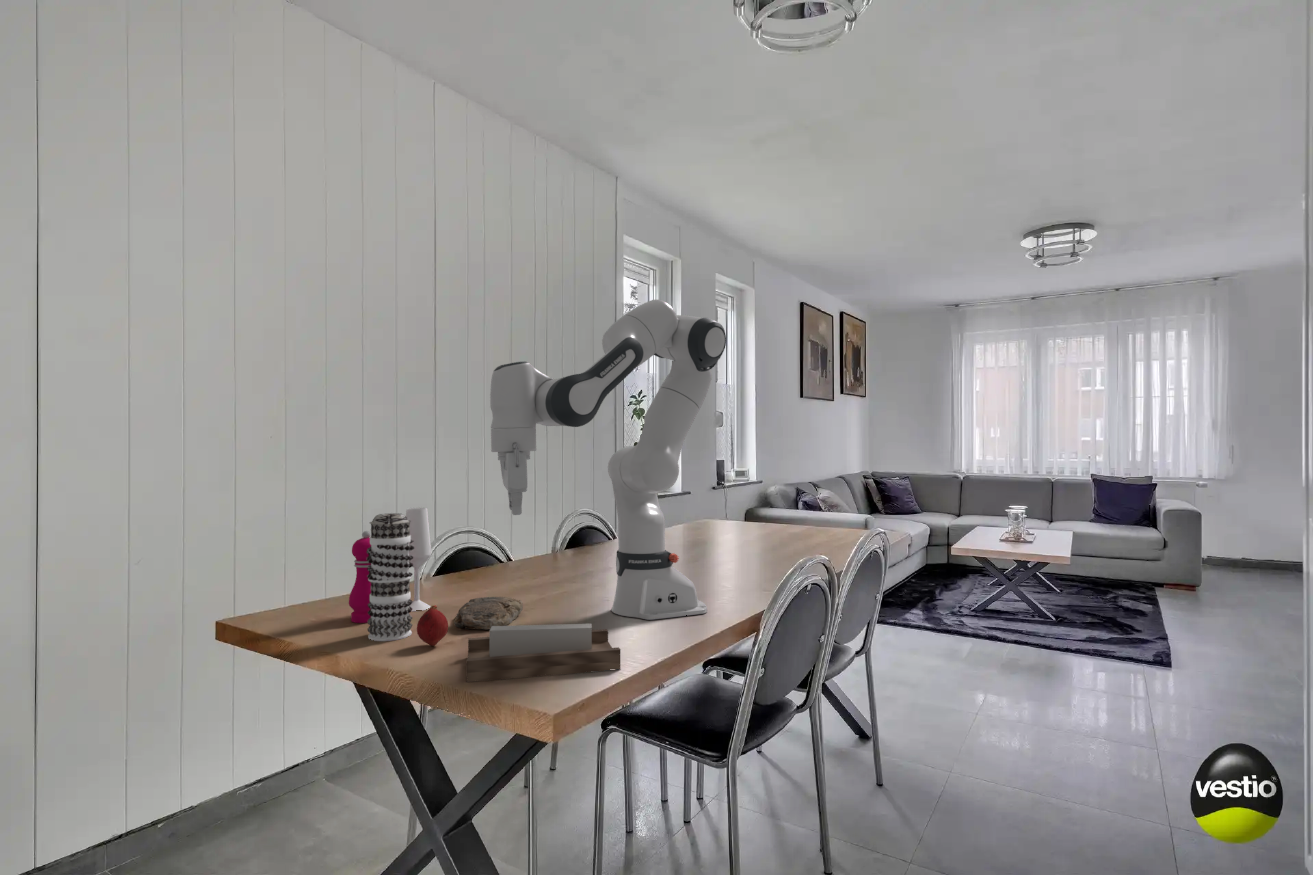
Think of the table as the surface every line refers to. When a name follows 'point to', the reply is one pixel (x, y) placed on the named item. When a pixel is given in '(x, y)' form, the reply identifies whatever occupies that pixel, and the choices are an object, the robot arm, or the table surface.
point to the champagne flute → (419, 548)
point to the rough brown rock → (488, 612)
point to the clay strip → (539, 639)
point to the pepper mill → (361, 581)
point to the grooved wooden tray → (540, 660)
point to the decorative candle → (390, 577)
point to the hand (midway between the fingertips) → (515, 512)
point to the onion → (432, 626)
